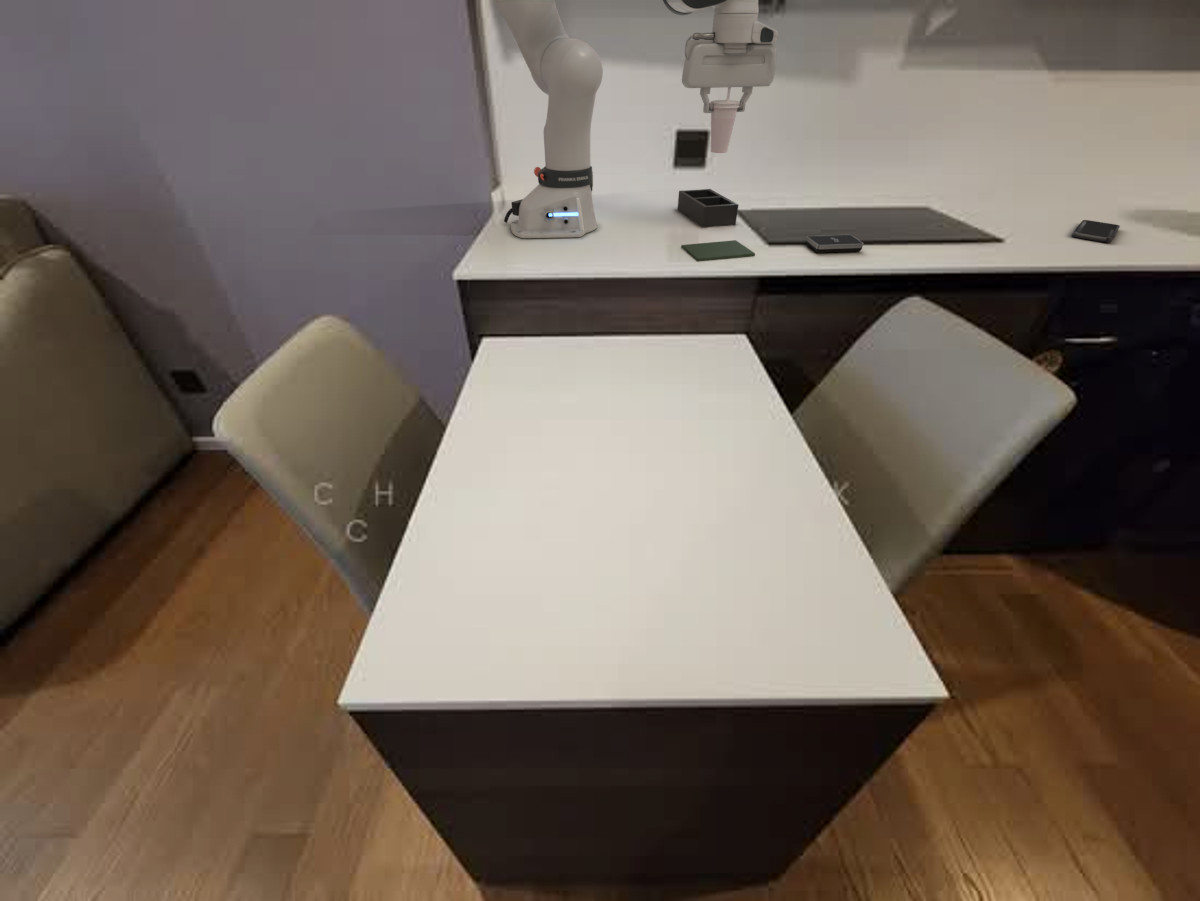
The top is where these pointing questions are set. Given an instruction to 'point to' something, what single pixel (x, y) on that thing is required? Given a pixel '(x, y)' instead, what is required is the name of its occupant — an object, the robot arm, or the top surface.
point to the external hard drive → (834, 243)
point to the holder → (707, 208)
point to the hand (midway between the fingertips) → (723, 112)
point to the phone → (1096, 231)
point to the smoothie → (722, 123)
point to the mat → (717, 250)
